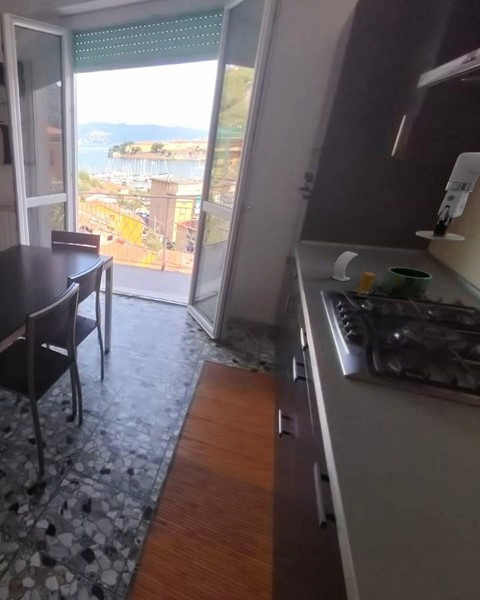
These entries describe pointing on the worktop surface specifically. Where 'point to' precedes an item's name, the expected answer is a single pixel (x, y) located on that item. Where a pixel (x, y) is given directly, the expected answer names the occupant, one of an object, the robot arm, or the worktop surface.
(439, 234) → the robot arm
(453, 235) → the tin lid
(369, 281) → the supplement box
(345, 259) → the headphone stand
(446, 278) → the worktop surface
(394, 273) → the lunch tin
